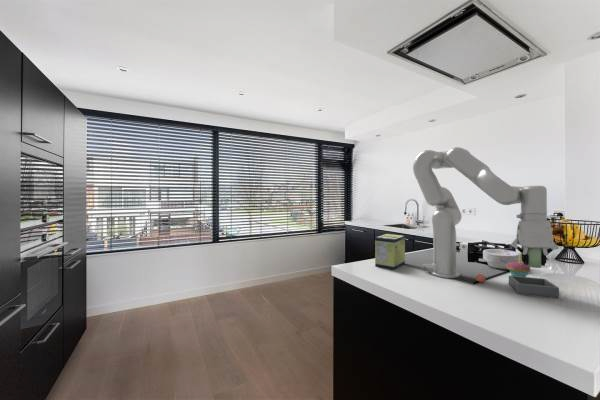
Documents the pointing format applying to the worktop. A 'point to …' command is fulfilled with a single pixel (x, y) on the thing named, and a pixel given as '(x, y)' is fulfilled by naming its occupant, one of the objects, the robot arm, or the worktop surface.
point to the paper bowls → (500, 257)
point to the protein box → (389, 251)
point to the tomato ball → (480, 278)
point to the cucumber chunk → (534, 257)
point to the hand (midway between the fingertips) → (533, 264)
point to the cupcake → (518, 268)
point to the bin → (533, 287)
